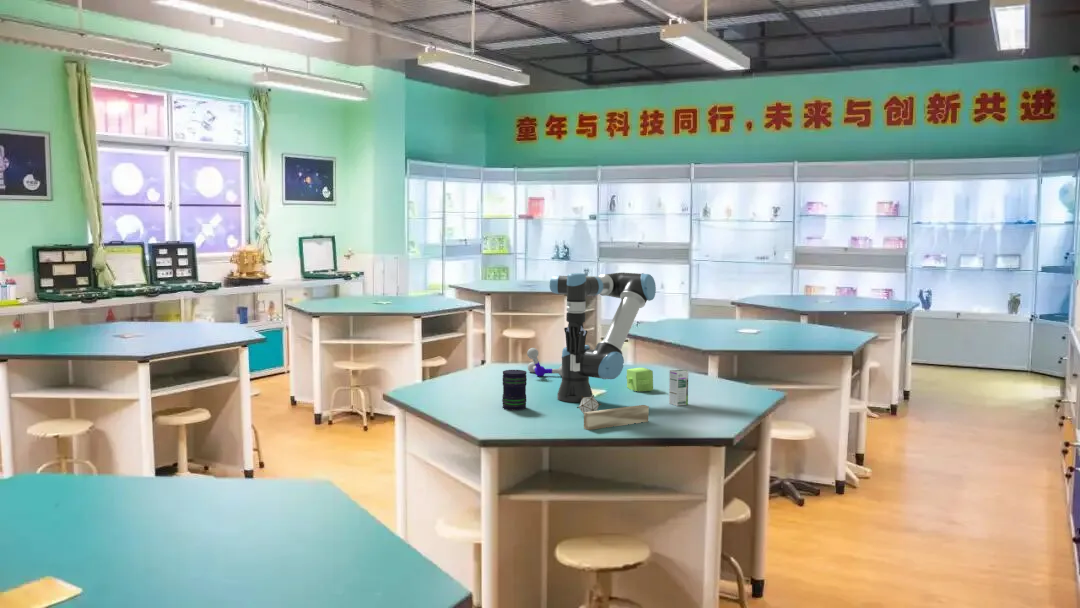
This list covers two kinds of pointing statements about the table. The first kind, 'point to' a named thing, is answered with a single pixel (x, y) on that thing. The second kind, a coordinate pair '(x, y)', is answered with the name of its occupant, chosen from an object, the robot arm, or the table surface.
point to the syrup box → (678, 387)
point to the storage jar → (514, 389)
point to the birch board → (615, 417)
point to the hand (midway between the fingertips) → (575, 370)
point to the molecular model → (535, 366)
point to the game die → (588, 404)
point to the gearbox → (640, 379)
